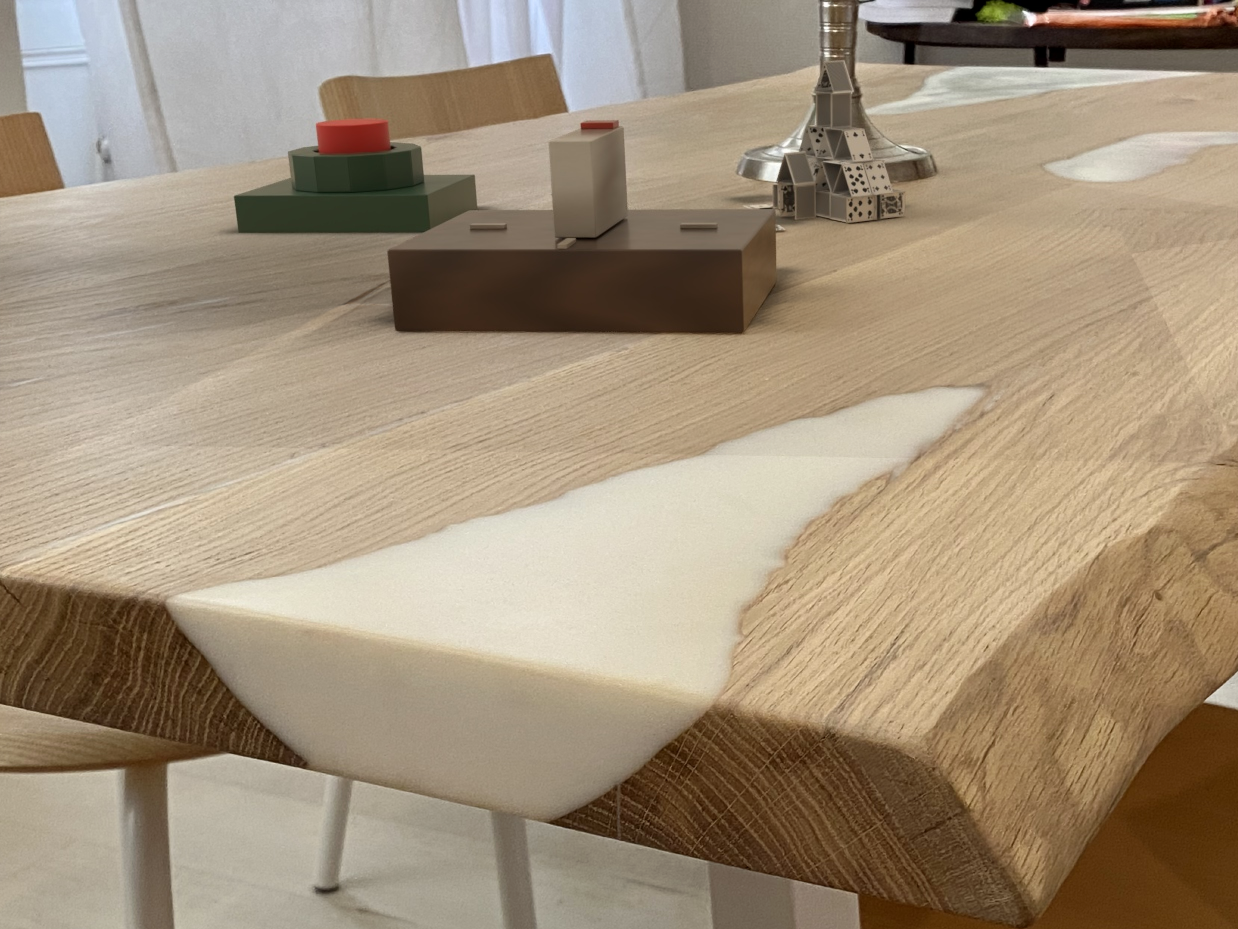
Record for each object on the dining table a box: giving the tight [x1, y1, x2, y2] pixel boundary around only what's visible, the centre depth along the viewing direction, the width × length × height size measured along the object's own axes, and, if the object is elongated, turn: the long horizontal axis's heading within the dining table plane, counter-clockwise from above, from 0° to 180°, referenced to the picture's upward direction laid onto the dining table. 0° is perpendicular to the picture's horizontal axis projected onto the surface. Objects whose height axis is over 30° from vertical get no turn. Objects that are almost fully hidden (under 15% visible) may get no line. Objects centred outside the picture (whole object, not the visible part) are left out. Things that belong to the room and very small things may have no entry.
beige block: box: [548, 119, 629, 238], centre depth 62 cm, size 6×2×4 cm, turn 172°
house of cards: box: [743, 59, 906, 231], centre depth 84 cm, size 9×9×8 cm
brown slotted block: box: [386, 208, 778, 334], centre depth 63 cm, size 13×10×3 cm
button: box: [315, 118, 391, 153], centre depth 83 cm, size 4×4×2 cm
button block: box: [233, 141, 478, 234], centre depth 83 cm, size 10×8×4 cm
